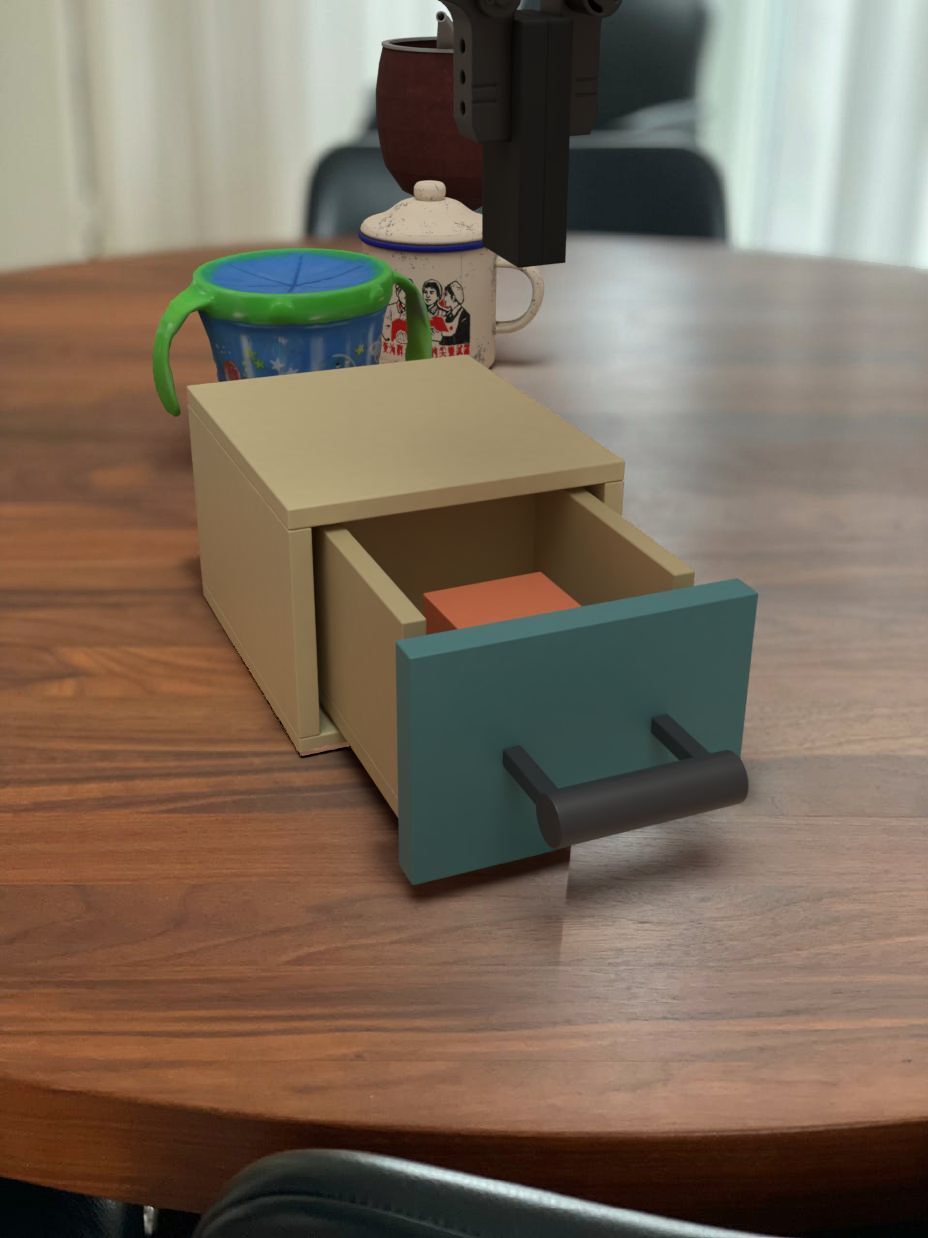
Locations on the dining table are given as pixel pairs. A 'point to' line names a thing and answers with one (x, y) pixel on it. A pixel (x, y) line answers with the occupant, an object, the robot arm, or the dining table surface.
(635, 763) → the drawer
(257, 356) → the snack cup
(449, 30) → the mate gourd
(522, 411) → the cabinet
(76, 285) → the dining table surface
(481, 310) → the teacup with lid
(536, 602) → the block
